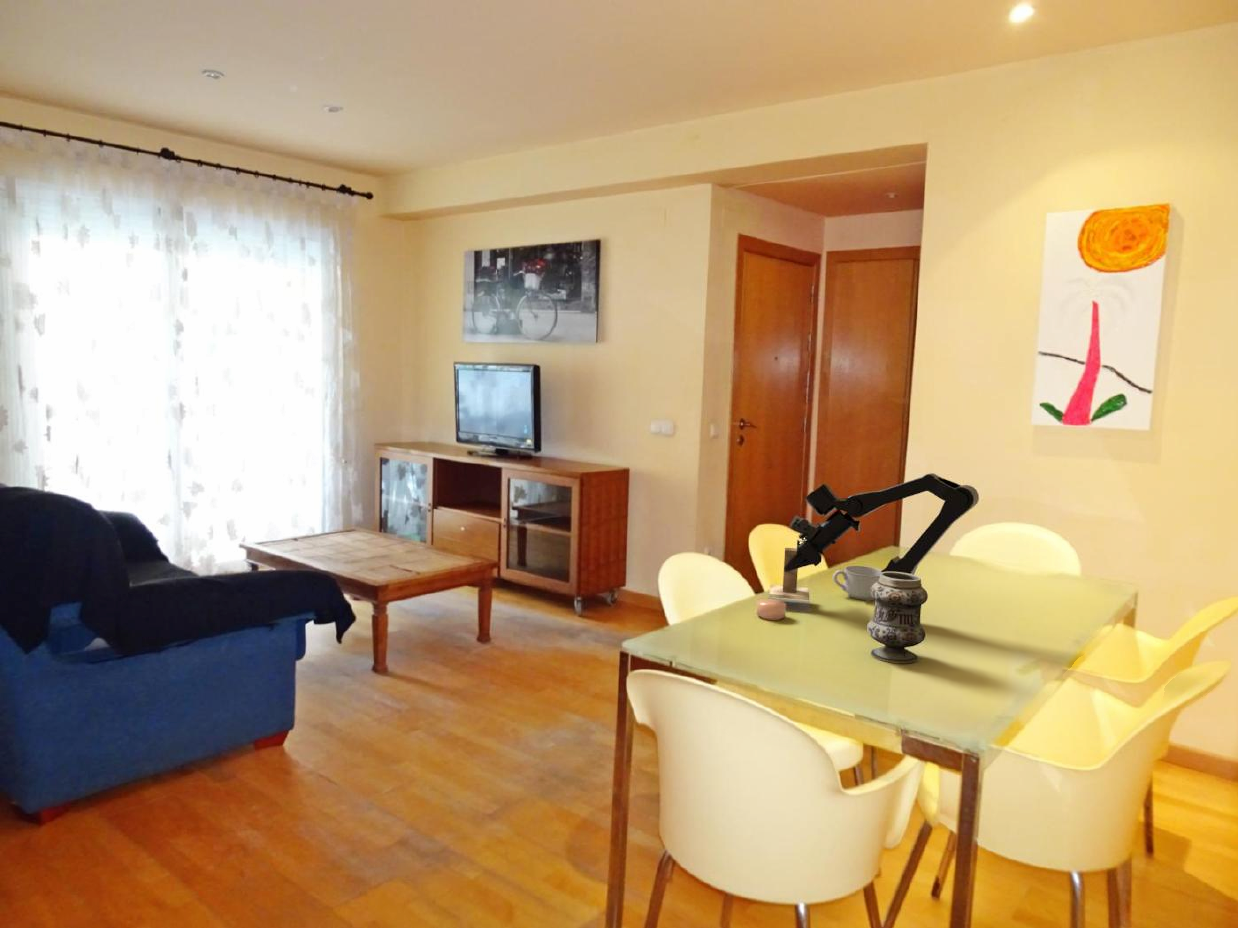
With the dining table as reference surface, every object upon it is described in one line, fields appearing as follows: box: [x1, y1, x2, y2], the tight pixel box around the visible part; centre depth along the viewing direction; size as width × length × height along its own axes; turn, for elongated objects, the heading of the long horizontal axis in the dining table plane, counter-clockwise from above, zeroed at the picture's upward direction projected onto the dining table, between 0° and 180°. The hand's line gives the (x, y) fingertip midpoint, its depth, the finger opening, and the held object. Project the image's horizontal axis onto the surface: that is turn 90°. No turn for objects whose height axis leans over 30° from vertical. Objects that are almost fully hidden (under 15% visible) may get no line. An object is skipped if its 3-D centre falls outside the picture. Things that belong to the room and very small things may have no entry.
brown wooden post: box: [768, 547, 810, 601], centre depth 227 cm, size 10×10×12 cm
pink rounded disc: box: [756, 598, 787, 621], centre depth 216 cm, size 7×7×4 cm
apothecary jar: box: [866, 572, 929, 665], centre depth 189 cm, size 12×12×18 cm
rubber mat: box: [767, 597, 811, 613], centre depth 228 cm, size 11×11×1 cm
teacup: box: [832, 564, 883, 602], centre depth 240 cm, size 14×11×8 cm
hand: (785, 568), depth 228 cm, fingers closed on brown wooden post, 3 cm apart
